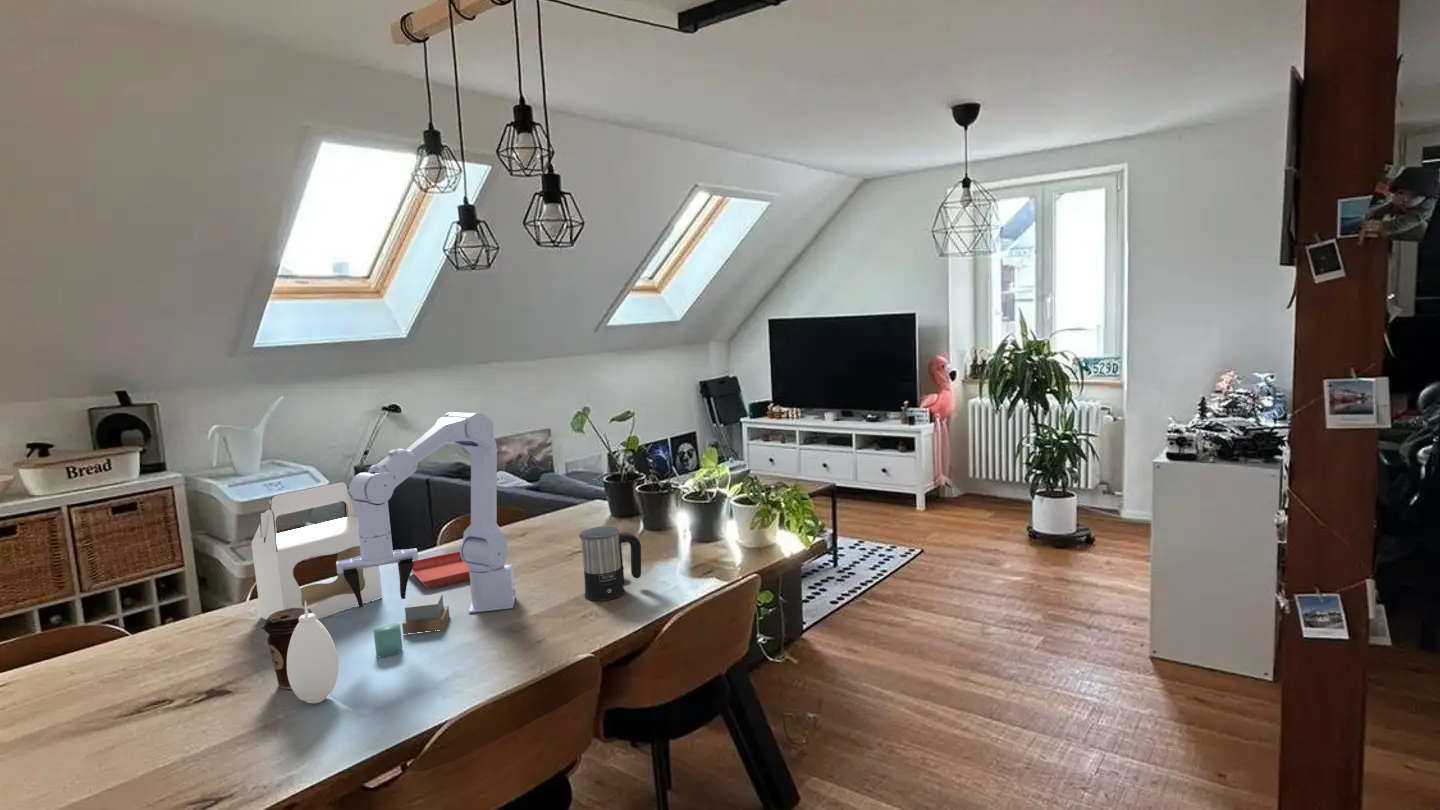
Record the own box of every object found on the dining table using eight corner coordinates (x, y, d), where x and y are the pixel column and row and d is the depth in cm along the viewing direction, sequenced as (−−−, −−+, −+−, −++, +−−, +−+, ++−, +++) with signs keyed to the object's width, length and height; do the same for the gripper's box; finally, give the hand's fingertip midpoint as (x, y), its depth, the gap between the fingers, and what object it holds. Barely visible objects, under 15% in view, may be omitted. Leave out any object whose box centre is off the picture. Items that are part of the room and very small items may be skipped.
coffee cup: (268, 697, 139) (259, 626, 137) (270, 679, 146) (262, 611, 144) (324, 684, 143) (316, 615, 141) (323, 667, 150) (315, 601, 148)
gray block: (443, 606, 172) (442, 593, 171) (439, 617, 165) (437, 603, 165) (412, 610, 171) (410, 596, 170) (406, 621, 164) (404, 607, 164)
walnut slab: (449, 618, 173) (448, 605, 173) (444, 632, 165) (442, 618, 165) (411, 623, 171) (409, 609, 171) (403, 637, 164) (402, 623, 163)
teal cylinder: (404, 645, 158) (402, 621, 158) (399, 655, 154) (397, 631, 153) (379, 648, 158) (376, 624, 157) (373, 658, 153) (370, 634, 152)
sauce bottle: (289, 716, 132) (276, 612, 129) (293, 696, 139) (281, 597, 136) (341, 705, 135) (329, 603, 132) (342, 686, 142) (331, 589, 140)
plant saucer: (497, 576, 199) (496, 564, 199) (423, 594, 189) (422, 580, 189) (475, 559, 214) (474, 548, 214) (405, 575, 204) (404, 562, 204)
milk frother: (597, 605, 175) (593, 539, 173) (561, 588, 187) (556, 527, 185) (649, 588, 184) (646, 525, 183) (612, 573, 196) (608, 514, 194)
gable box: (356, 588, 195) (343, 476, 192) (384, 598, 187) (371, 481, 183) (259, 618, 178) (243, 496, 174) (285, 630, 170) (269, 502, 166)
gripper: (412, 523, 161) (418, 588, 162) (332, 535, 154) (340, 603, 156) (416, 531, 154) (423, 598, 156) (334, 544, 148) (341, 614, 149)
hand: (382, 601), depth 155 cm, fingers open, 7 cm apart
